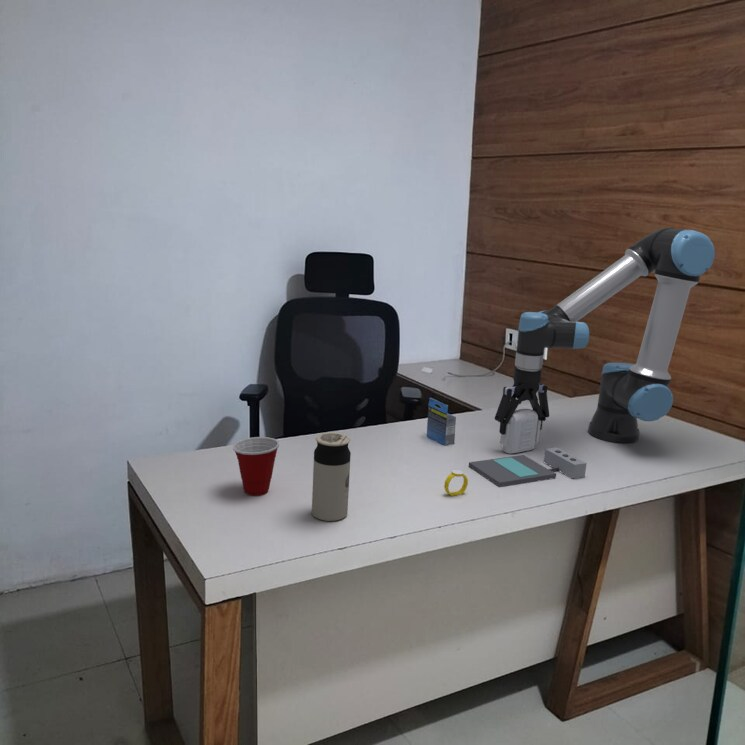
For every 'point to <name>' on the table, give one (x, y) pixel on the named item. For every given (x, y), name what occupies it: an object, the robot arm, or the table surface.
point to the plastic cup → (256, 463)
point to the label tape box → (440, 423)
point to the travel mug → (331, 476)
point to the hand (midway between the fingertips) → (519, 442)
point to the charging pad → (511, 470)
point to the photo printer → (522, 431)
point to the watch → (447, 481)
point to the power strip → (565, 462)
